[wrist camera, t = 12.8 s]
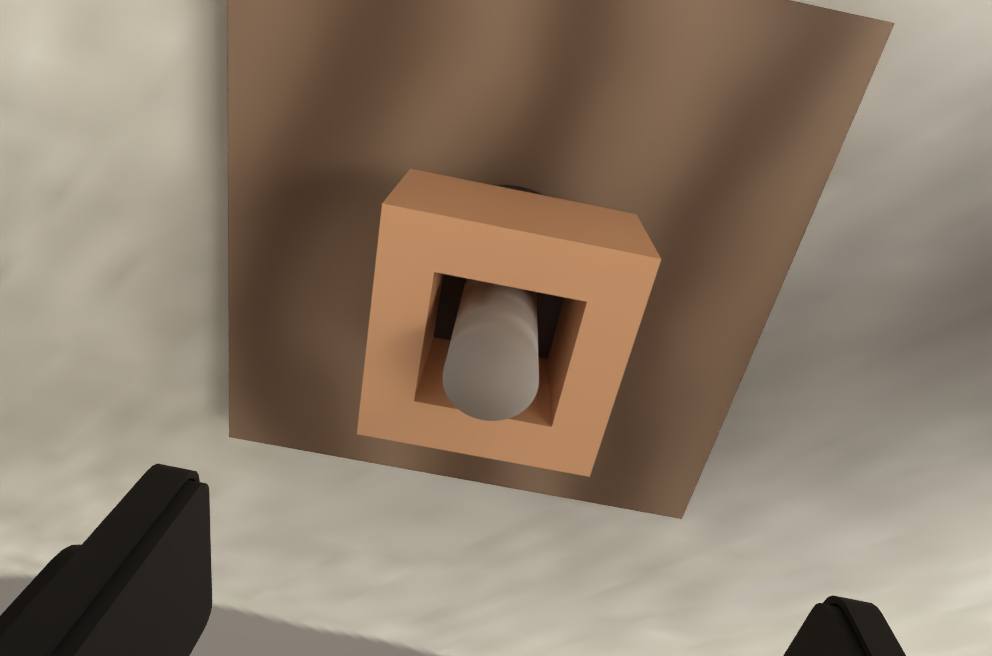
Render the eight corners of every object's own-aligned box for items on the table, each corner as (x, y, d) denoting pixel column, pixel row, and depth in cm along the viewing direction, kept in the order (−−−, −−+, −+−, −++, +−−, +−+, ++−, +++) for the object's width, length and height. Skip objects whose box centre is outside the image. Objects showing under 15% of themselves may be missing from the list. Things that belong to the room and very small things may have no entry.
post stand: (869, 23, 20) (1123, 24, 11) (674, 495, 29) (735, 694, 20) (247, -113, 19) (23, -219, 11) (243, 417, 28) (118, 590, 19)
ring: (636, 214, 19) (661, 259, 15) (579, 403, 22) (589, 476, 19) (410, 168, 19) (382, 203, 15) (385, 366, 22) (356, 434, 18)
